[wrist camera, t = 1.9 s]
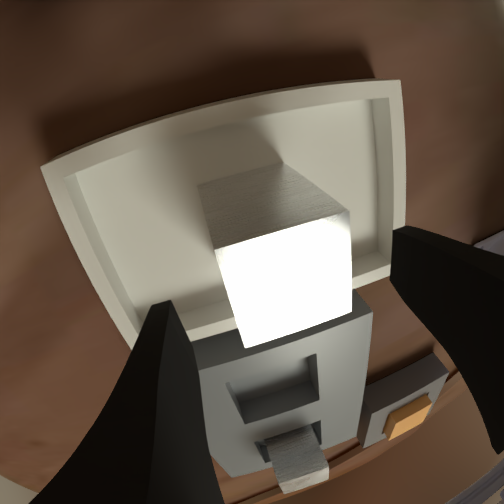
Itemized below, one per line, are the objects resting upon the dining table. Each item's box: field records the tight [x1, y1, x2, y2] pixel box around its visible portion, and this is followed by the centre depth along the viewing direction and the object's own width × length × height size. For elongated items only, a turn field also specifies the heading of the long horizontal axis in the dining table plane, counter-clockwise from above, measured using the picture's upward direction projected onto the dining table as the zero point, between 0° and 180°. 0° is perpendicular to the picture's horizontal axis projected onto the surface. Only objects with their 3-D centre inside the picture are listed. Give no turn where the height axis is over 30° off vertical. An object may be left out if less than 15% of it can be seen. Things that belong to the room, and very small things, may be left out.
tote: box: [40, 78, 406, 350], centre depth 14 cm, size 16×11×2 cm
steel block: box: [197, 162, 352, 348], centre depth 12 cm, size 4×4×6 cm
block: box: [264, 424, 329, 494], centre depth 23 cm, size 4×4×6 cm
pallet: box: [191, 289, 373, 477], centre depth 22 cm, size 13×18×3 cm
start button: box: [383, 394, 432, 440], centre depth 27 cm, size 4×4×3 cm
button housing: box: [356, 353, 449, 448], centre depth 28 cm, size 9×9×3 cm
